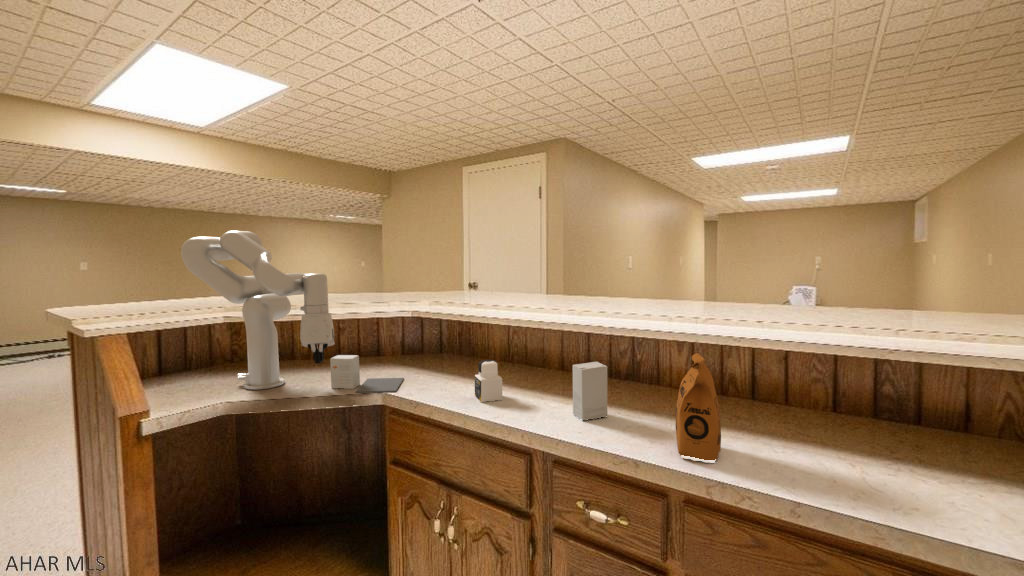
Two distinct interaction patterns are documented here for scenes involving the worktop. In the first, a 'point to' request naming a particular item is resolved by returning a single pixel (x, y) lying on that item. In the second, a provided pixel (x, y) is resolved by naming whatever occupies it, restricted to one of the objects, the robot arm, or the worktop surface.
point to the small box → (345, 371)
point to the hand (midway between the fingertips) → (319, 362)
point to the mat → (380, 385)
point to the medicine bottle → (488, 382)
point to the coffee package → (698, 414)
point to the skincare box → (590, 390)
